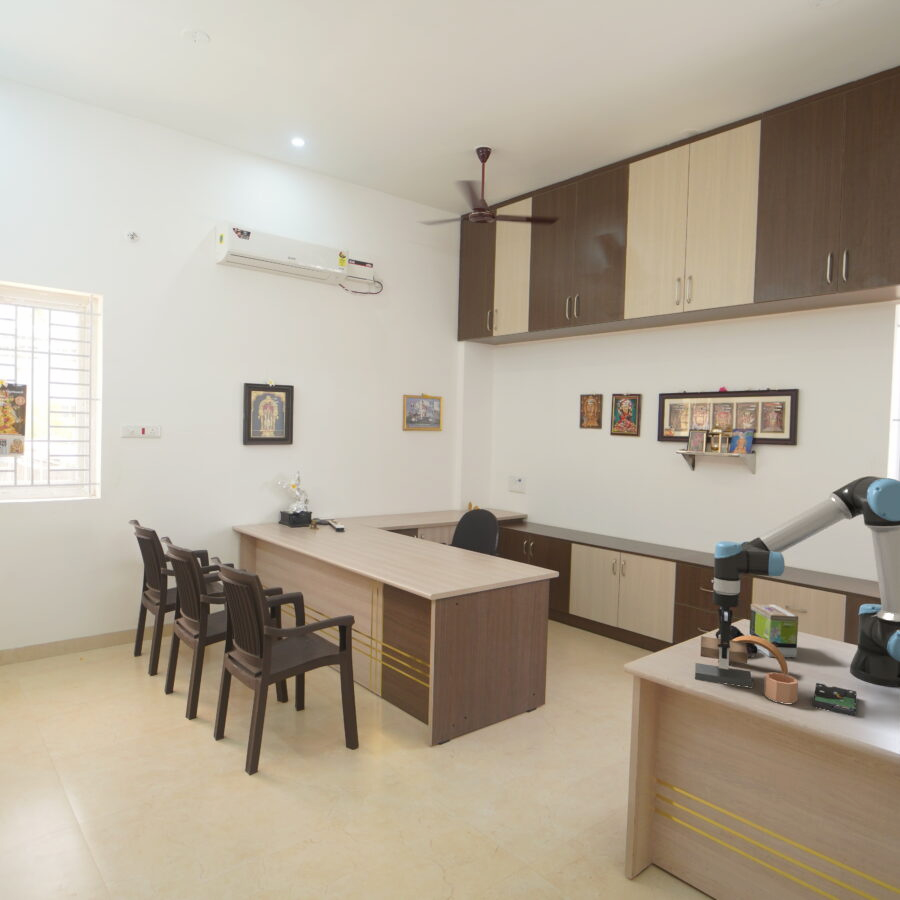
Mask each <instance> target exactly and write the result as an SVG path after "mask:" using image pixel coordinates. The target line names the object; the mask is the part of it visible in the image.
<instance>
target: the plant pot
mask: <svg viewBox="0 0 900 900" xmlns="http://www.w3.org/2000/svg"><path fill="white" fill-rule="evenodd" d="M798 687H799V681H798V680H797V678H796V677H794V676H792V675H789V674H782V672H774V671H773V672H766V673H764V688H763V693H764V696H765V697H766V698H767V697H768V698H770V699H772V700H774V701H777V702H783V703H793V702H795V703H797V701H798V689H799V688H798ZM768 698H767V699H768ZM774 701H773V702H774ZM777 702H776V703H777ZM793 704H794V703H793Z"/></svg>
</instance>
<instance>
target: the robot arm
mask: <svg viewBox="0 0 900 900" xmlns="http://www.w3.org/2000/svg"><path fill="white" fill-rule="evenodd" d="M861 515H862V516H863V522H864V523H863V524H864V526H866V527H867V528H868V529H870V531H871V537H872V544H873V551H874V552H873V553H874V561H875V567H876V573H877V580H878V589H879V596H880V603H881V604H877V603H864V604H861V605H860V607H859V610H858V611H859V612H858V614H857V615H858V625H857V626H858V630H857V631H858V632H857V649H856V652H855V653H854V656H853V658H852V660H851V662H850V665H849V666H850V667H849V673H850V674H851V675H852V676H853V677H856V678H857V679H860V680H862V681H865V682H868V683H871V684H874V685H875V684H876V685H880V686H887V687H900V480H897V479H894V478H892V477H891V478H890V477H887V478H886V477H878V476H871V475H870V476H863V477H862V476H861V477H860V478H857V479H854V480H851V482H849V483H847V484H845V485H844V486H842V487H840V488H838V489H835V491H832V492H831V493H829V496H828V498H827V499H825V500H823V501H821V502H819V503H818V504H816V505H814V506H813V507H811V508H809V509H807V510H805V511H803V512H802V513H799V514H798V515H795V516H794V517H792V518H790V519H789V520H787V521H785V522H783V523H781V524H780V525H778V526H775V527H774V528H773V529H770V530H768V531H767V532H765V533H764V534H760V536H758V537H755V538H753V539H752V540H751V541H742V542H735V541H726V540H725V541H724V540H723V541H717V542H716V544H715V549H714V554H713V555H714V563H713V567H714V568H713V570H714V571H713V579H711V583H712V584H713V586H712V587H713V588H712V589H713V592H712V603H713V604H714V605H716V606H719V608H718V610H717V614H718V615H717V616H718V630H719V634H721V635H719V639H720V644H718V647H720V648H719V659H718V660H719V664H718V666H719V668H723V669H728V668H730V666H729V665H730V664H729V663H730V661H729V648H730V626H731V625H732V619H733V610H732V609H731V608H736V607H738V606H739V605H740V594H739V593H740V592H741V575H748V576H749V575H750V576H763V577H781V576H782V575H783V573H784V571H785V565H786V564H785V558H784V555H783V552H784V551H787V550H788V549H790V548H792V547H794V546H797V545H798V544H800V543H801V542H803V541H806V540H807V539H809V538H811V537H813V536H815V535H817V534H818V533H821V532H822V531H824V530H826V529H828V528H829V527H832V526H833V525H835V524H837V523H839V522H841V521H842V520H843V521H844V520H852V519H854V518H855V517H857V516H861ZM726 643H727V644H726Z"/></svg>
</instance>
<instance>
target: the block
mask: <svg viewBox="0 0 900 900" xmlns="http://www.w3.org/2000/svg"><path fill="white" fill-rule="evenodd" d="M698 679H700V681H704V680H706V682H710V681H713V682H712V683H717V682H720V683H719V684H723V683H727V684H726V685H729V684H734V685H733V686H735V685H740V686H739V687H741V686H748V687H752V688H753V679H752V673H751V671H750V670H743V669H738V668H732V667H729V668H728V669H723V668H719V665H712V664H706V663H700V662H698V663H697V662H695V669H694V680H698ZM748 687H747V688H748Z"/></svg>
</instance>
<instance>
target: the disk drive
mask: <svg viewBox="0 0 900 900" xmlns="http://www.w3.org/2000/svg"><path fill="white" fill-rule="evenodd" d="M857 694H858V693H857V691H855V690H851V689H846V688H842V687H837V686H834V685H833V686H827V685H826V684H825V683H819V682H816V684H815V689H814V693H813V698H812V707H813V706H814V707H817V708H816V709H819V708H821V709H820V710H823V709H825V710H824V711H827V710H829V711H828V712H832V713H837V714H841V715H845V716H850V717H854V718H855V717H856V714H857V712H856V711H857ZM814 707H813V708H814Z"/></svg>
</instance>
